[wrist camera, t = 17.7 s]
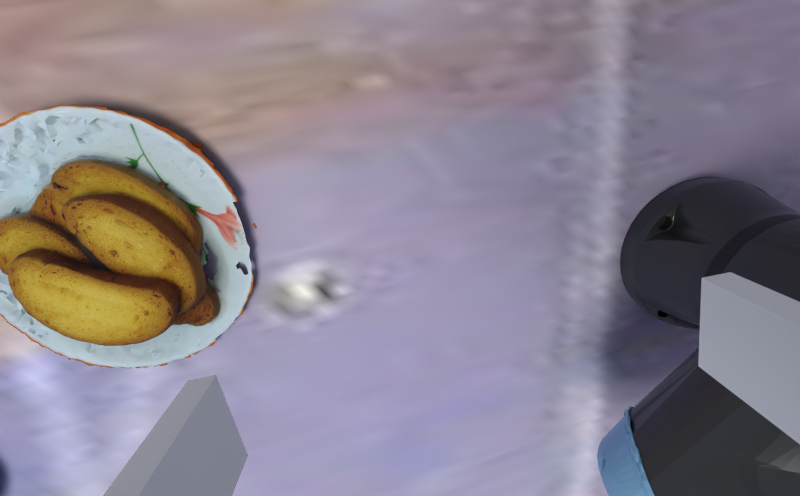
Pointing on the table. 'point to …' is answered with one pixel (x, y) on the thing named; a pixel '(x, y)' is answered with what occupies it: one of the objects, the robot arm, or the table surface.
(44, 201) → the food on plate
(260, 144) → the table surface
